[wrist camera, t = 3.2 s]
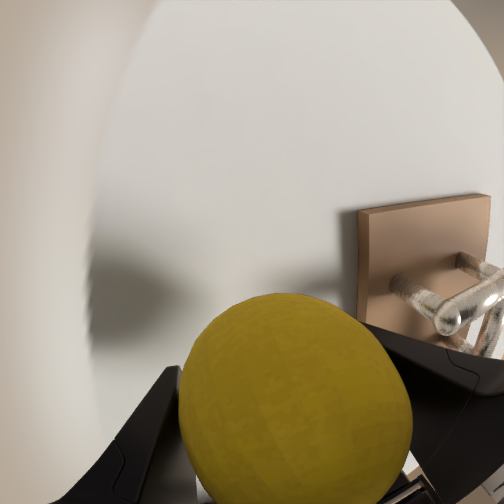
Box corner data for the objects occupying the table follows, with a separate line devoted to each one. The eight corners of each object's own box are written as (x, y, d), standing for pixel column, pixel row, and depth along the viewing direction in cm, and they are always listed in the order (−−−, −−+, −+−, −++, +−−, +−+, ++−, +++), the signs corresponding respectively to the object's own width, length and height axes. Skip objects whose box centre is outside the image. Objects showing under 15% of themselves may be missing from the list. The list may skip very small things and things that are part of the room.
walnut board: (435, 396, 21) (440, 401, 20) (338, 445, 19) (342, 453, 18) (480, 193, 14) (490, 196, 13) (357, 210, 12) (368, 214, 11)
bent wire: (448, 338, 16) (487, 370, 12) (373, 378, 15) (412, 426, 11) (467, 246, 14) (521, 270, 9) (387, 273, 13) (453, 316, 8)
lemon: (162, 360, 10) (159, 566, 2) (218, 229, 9) (327, 507, 1) (283, 389, 11) (352, 541, 4) (349, 286, 10) (504, 424, 3)
